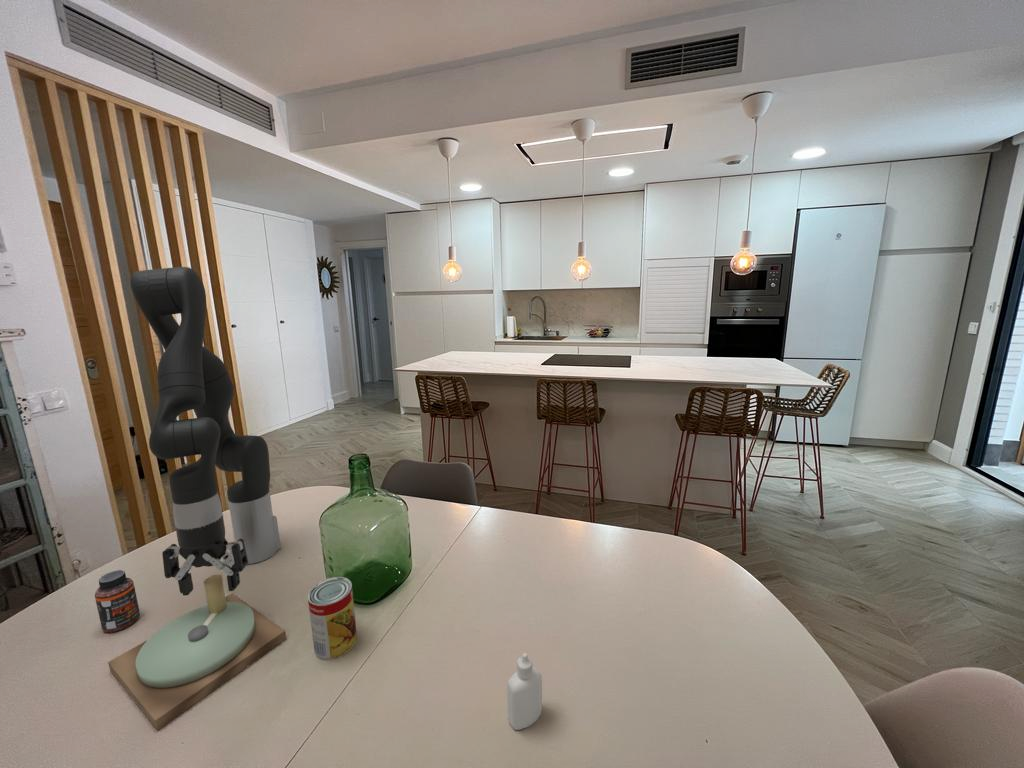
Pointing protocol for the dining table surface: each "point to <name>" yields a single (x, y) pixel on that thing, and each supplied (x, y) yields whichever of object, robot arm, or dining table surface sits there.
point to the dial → (196, 640)
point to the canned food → (332, 617)
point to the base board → (177, 699)
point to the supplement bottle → (116, 601)
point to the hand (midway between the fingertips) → (211, 590)
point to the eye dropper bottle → (524, 694)
